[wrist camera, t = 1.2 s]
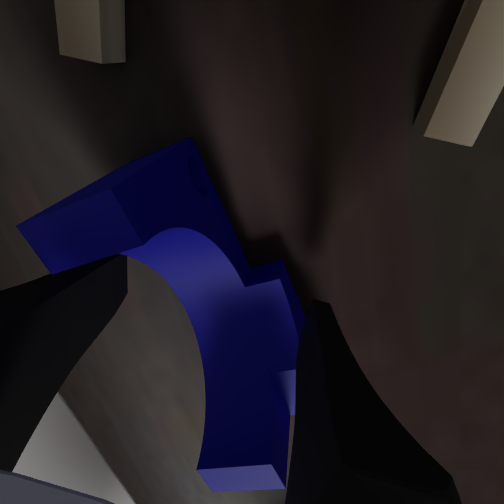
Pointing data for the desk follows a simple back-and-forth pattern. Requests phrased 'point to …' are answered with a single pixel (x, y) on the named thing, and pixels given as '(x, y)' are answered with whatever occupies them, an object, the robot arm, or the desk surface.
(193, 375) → the desk surface
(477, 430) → the desk surface
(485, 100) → the channel
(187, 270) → the cable clip
